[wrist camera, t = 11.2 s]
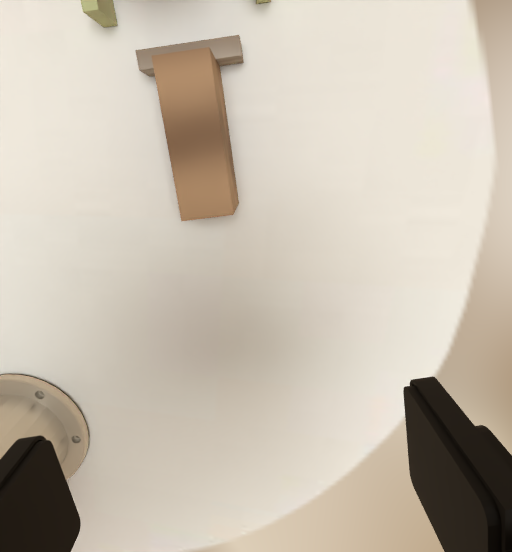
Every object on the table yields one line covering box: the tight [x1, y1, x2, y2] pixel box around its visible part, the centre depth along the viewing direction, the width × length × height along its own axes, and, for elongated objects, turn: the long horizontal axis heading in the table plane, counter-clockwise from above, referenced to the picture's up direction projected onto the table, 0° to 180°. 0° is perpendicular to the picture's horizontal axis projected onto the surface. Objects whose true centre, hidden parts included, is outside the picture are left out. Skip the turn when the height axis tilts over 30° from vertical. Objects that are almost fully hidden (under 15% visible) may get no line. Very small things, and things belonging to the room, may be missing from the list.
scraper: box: [136, 35, 243, 221], centre depth 28 cm, size 11×7×6 cm, turn 7°
